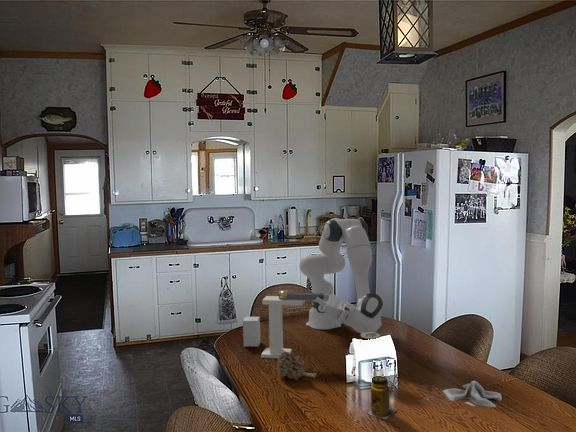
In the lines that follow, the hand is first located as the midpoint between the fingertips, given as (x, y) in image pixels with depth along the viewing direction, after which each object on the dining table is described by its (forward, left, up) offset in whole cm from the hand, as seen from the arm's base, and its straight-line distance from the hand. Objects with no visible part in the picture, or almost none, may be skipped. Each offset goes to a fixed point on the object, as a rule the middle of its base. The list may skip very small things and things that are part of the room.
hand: (317, 295), depth 222 cm
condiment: (+49, +29, -28) cm, 63 cm away
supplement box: (-12, -34, -28) cm, 46 cm away
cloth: (+32, +62, -28) cm, 75 cm away
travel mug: (+22, +24, -28) cm, 42 cm away
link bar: (0, -7, -2) cm, 7 cm away
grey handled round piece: (+27, -4, -28) cm, 39 cm away
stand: (0, -15, -28) cm, 32 cm away
